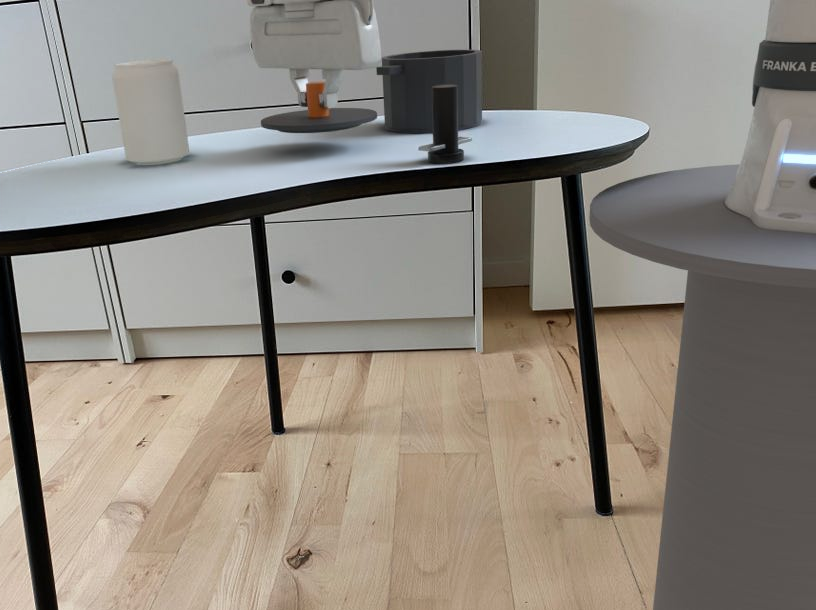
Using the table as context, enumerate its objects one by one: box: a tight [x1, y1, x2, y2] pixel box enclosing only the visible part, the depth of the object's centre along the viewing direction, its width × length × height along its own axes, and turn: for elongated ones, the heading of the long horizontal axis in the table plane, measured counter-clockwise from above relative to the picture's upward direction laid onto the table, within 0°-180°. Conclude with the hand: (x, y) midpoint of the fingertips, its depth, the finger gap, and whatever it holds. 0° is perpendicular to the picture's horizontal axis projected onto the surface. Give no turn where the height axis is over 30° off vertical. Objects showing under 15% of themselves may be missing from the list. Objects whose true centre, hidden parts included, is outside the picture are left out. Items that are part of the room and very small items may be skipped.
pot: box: [375, 49, 483, 134], centre depth 116 cm, size 14×19×10 cm
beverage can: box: [111, 58, 190, 166], centre depth 105 cm, size 8×8×12 cm
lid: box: [260, 81, 378, 134], centre depth 103 cm, size 15×15×5 cm
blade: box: [418, 85, 473, 165], centre depth 92 cm, size 7×4×8 cm, turn 132°
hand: (318, 107), depth 104 cm, fingers closed on lid, 2 cm apart
